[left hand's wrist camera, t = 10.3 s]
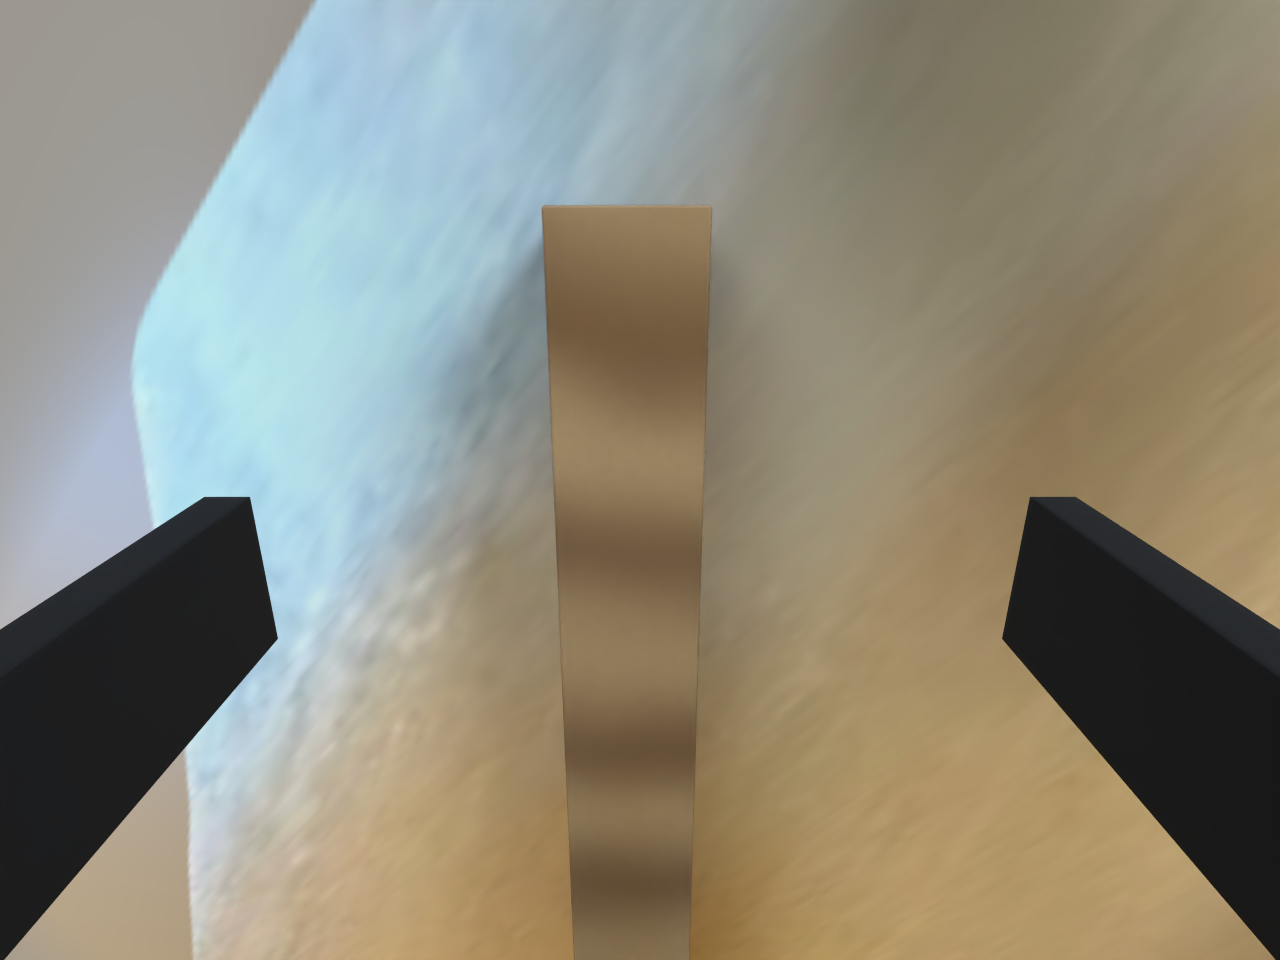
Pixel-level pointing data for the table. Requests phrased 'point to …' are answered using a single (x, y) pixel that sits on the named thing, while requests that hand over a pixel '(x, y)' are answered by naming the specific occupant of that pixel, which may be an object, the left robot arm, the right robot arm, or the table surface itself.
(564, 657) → the bar
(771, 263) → the table surface
